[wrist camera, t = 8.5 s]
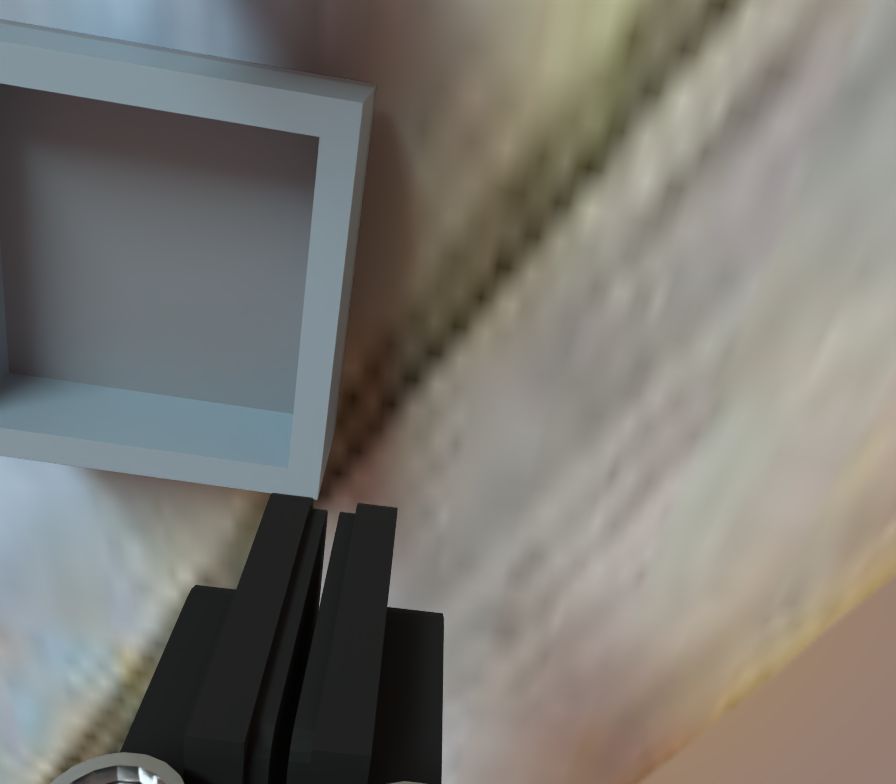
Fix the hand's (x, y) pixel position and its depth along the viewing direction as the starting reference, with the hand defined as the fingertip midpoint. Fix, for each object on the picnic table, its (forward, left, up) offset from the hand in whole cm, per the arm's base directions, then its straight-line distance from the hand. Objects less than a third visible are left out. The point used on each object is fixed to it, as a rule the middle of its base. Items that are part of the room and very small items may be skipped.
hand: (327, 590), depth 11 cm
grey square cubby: (+7, +2, -19) cm, 21 cm away
